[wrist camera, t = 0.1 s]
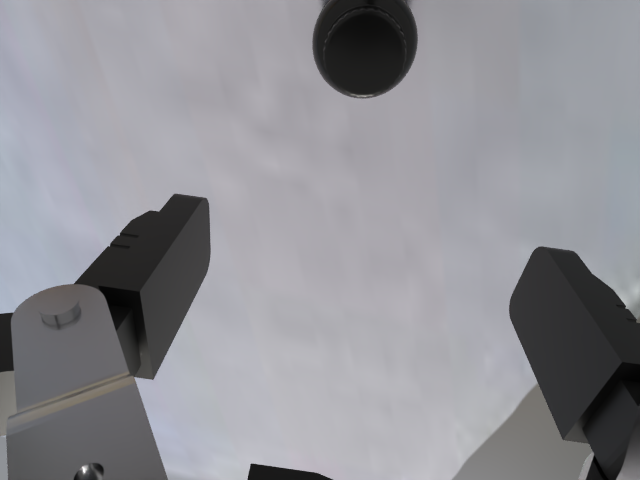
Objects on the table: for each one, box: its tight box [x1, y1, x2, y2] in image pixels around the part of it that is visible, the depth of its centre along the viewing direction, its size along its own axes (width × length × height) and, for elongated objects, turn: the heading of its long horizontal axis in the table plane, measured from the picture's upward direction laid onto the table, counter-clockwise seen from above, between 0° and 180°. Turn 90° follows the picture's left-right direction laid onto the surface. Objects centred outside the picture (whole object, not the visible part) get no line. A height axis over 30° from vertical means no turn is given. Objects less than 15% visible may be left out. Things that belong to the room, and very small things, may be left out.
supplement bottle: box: [313, 0, 418, 98], centre depth 29 cm, size 7×7×12 cm
